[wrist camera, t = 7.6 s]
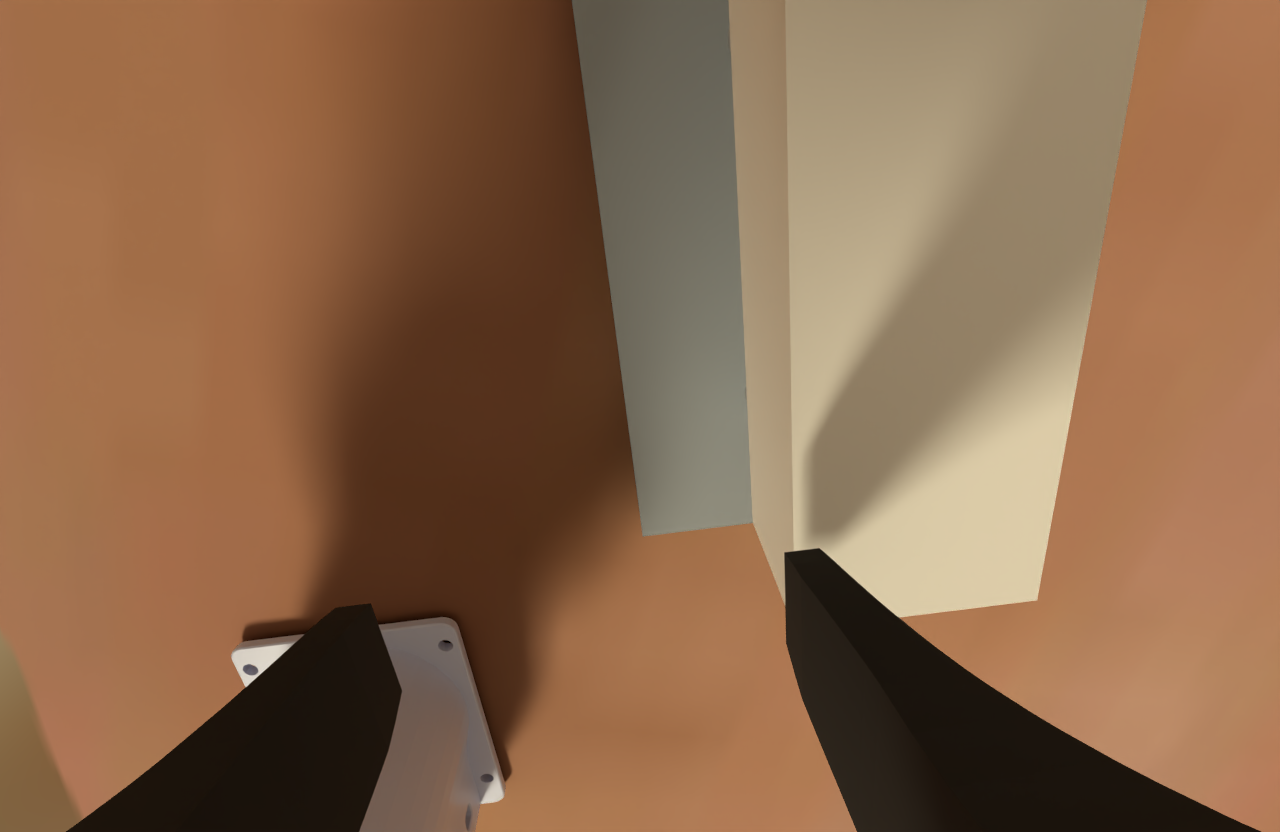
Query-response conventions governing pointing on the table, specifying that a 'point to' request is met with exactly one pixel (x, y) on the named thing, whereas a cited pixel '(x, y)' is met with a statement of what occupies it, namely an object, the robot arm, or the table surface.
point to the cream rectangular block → (921, 276)
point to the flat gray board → (672, 249)
